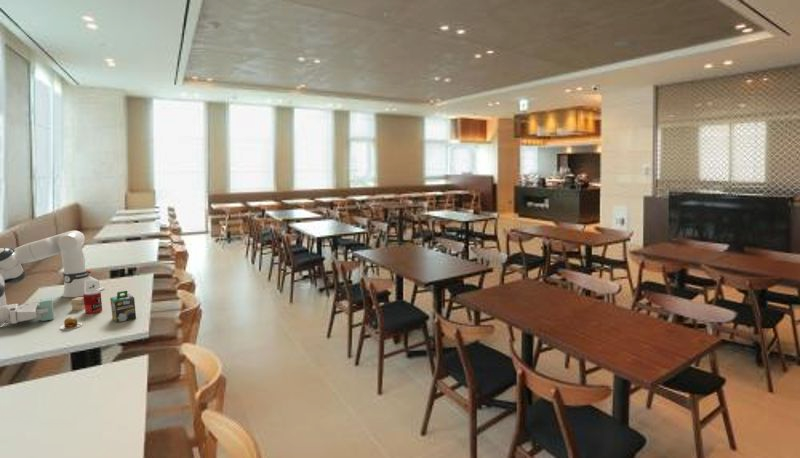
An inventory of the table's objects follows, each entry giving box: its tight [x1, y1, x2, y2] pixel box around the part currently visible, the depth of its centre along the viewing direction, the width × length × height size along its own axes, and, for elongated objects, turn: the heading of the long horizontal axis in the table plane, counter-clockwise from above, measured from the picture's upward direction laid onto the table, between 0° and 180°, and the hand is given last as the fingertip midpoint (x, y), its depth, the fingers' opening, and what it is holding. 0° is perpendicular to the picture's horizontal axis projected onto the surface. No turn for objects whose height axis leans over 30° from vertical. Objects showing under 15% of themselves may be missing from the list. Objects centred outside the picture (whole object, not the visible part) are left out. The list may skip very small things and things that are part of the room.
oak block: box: [71, 296, 85, 311], centre depth 251 cm, size 5×5×6 cm
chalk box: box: [109, 290, 137, 323], centre depth 234 cm, size 9×9×15 cm
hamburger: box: [59, 316, 83, 331], centre depth 223 cm, size 12×12×6 cm
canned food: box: [83, 290, 103, 315], centre depth 245 cm, size 8×8×11 cm
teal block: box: [38, 297, 55, 322], centre depth 233 cm, size 5×5×10 cm
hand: (48, 307), depth 234 cm, fingers closed on teal block, 5 cm apart
